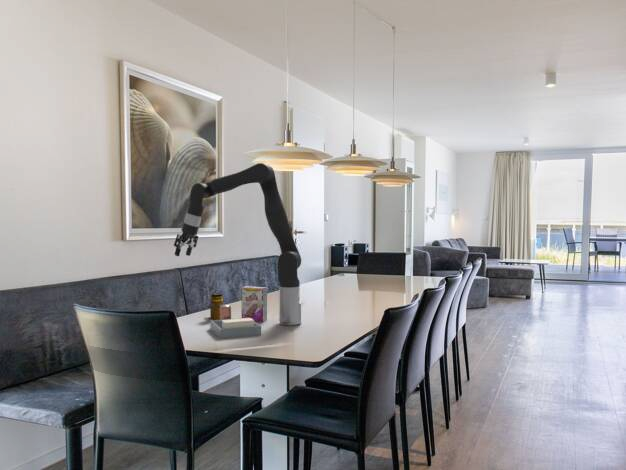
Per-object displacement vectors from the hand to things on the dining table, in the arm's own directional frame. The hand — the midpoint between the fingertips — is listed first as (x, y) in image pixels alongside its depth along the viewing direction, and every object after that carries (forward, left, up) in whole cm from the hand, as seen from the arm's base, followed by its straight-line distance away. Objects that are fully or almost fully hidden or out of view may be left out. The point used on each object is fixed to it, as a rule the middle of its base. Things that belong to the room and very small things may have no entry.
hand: (182, 255), depth 245 cm
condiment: (-14, +9, -30) cm, 34 cm away
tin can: (-15, +26, -30) cm, 42 cm away
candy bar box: (-29, +24, -30) cm, 48 cm away
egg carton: (-15, +47, -29) cm, 57 cm away
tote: (-15, +43, -30) cm, 54 cm away
